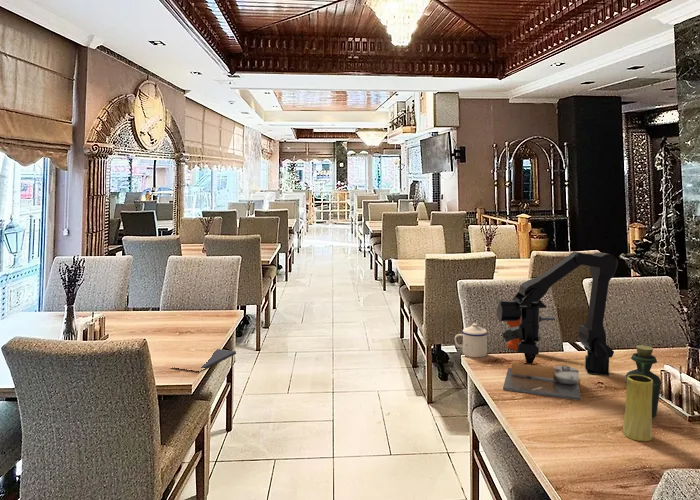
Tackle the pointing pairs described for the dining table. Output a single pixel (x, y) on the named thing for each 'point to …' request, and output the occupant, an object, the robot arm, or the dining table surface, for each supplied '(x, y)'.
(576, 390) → the chuck base plate
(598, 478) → the dining table surface
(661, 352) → the dining table surface
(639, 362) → the potion bottle
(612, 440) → the dining table surface
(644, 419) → the vase
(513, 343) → the toy drill
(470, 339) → the teacup with lid
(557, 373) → the wooden bar
